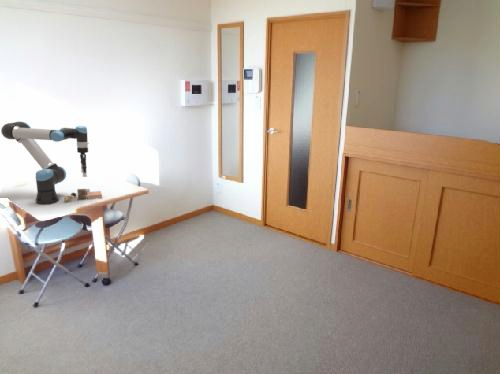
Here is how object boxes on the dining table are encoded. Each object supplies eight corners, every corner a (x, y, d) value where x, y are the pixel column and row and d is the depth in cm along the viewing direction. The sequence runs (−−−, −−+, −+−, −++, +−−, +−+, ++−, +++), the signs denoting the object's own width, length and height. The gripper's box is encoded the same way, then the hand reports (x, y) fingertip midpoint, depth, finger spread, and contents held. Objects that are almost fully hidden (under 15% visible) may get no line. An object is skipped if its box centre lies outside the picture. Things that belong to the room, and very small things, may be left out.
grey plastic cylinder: (84, 195, 308) (84, 190, 307) (84, 193, 311) (84, 189, 310) (90, 194, 309) (89, 190, 308) (90, 193, 313) (89, 188, 312)
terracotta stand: (88, 199, 298) (87, 195, 297) (87, 195, 307) (87, 192, 306) (102, 198, 302) (101, 194, 301) (101, 194, 311) (100, 190, 310)
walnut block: (78, 200, 295) (77, 191, 293) (78, 198, 300) (77, 189, 298) (86, 199, 298) (86, 190, 296) (86, 197, 303) (85, 188, 301)
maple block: (66, 202, 288) (65, 197, 287) (64, 201, 291) (63, 196, 290) (74, 201, 292) (74, 196, 291) (72, 200, 295) (72, 195, 294)
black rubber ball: (71, 198, 299) (70, 193, 298) (71, 196, 303) (70, 192, 302) (76, 197, 301) (75, 193, 300) (76, 196, 304) (75, 191, 303)
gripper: (89, 150, 282) (90, 178, 288) (86, 144, 303) (88, 170, 309) (78, 150, 278) (79, 178, 284) (76, 144, 300) (77, 170, 306)
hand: (84, 174), depth 297 cm, fingers open, 13 cm apart
